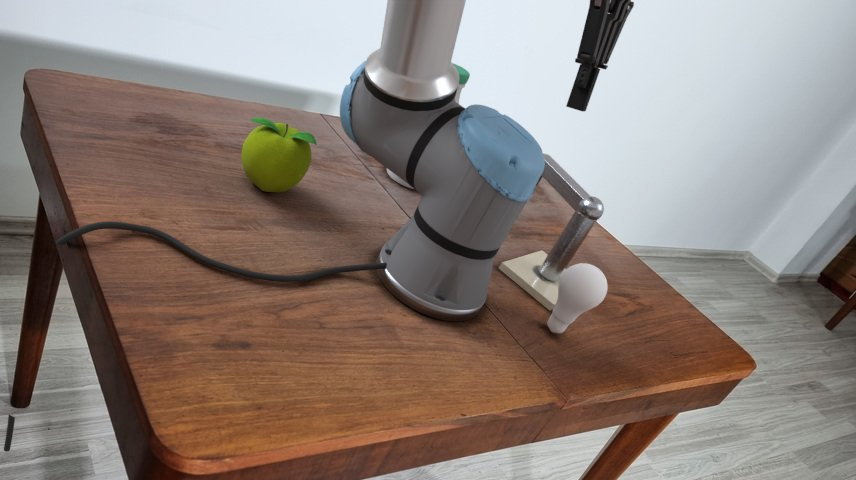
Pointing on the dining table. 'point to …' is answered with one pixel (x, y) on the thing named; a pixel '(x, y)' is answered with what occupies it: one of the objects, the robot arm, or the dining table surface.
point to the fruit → (276, 155)
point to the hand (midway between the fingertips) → (575, 108)
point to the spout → (579, 224)
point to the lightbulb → (577, 295)
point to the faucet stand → (532, 277)
